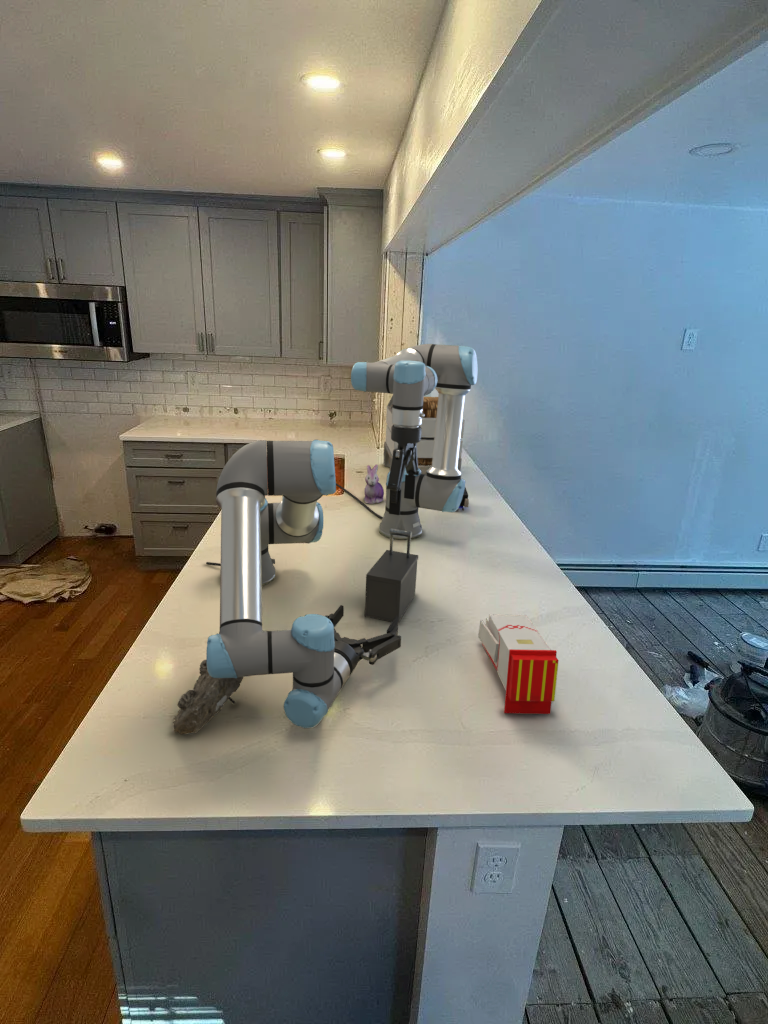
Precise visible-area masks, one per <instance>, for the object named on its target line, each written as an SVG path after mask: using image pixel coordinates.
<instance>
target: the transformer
mask: <svg viewBox="0 0 768 1024" xmlns="http://www.w3.org/2000/svg"><path fill="white" fill-rule="evenodd" d="M437 406H438V396H424V399H423V411H422V413H424V415H425V416H424V417H422V424H421V425H420V427H421V428H422V430H421V441H420V442H418V443H417V458H418V467H431V466H432V458H433V448H434V437H435V427H436V416H437ZM392 407H393V395H391V398H390V400H389V402H388V404H387V405H386V413H385V414H386V415H385V423H386V428H385V438H384V442H383V466H384V467H388V468H389V471H390V470H391V464H392V458H393V450H394V449H396V448H398V443H397V442H394V441H392V439H391V427H392V426H393V425H394V424H392ZM464 429H465V419H464V418H463V420H462V429H461V439H460V448H459V457H458V466H457V467H458V470H459V471H460V472H461V473H462V461H463V460H462V453H463V442H464V441H463V440H462V439H463V438H464V431H465V430H464Z"/></svg>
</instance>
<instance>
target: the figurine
mask: <svg viewBox="0 0 768 1024" xmlns="http://www.w3.org/2000/svg"><path fill="white" fill-rule="evenodd" d="M378 469H379V465H378V464H375V465H374V466H373V468H371V465H369V464H368V465H366V475H365V479H364V480H365V484H366V485H365V487H364V492H363V493H364V497H363V501H364V504H370V505H374V504H379V503H381V502H383V501H384V497H385V496H384V495H385V490H384V487H383V484H381V483H380V482H379V481H380V478H379V475H378V473H377V472H378Z"/></svg>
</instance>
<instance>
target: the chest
mask: <svg viewBox="0 0 768 1024" xmlns="http://www.w3.org/2000/svg"><path fill="white" fill-rule="evenodd" d="M417 572H418V560H417V561H416V563H415V564H414V566H413V567H412V569H411V570H410V572H409V574H408V575H407V577H406V578H405V580H404V581H403V583H402V584H401V585H397V584H392V583H387V582H381V581H376V580H371V579H366V578H365V597H364V598H365V599H364V617H366V618H371V619H376V620H380V621H384V622H385V621H386V622H390V623H392V621H393V620H394V618H395V616H396V617H399V618H398V624H399V623H400V622H401V620H402V618H403V616H404V615H405V613H406V612H407V610H408V608H409V606H410V605H411V603H412V602H413V599H414V598H415V597H416V589H417V588H416V587H417Z"/></svg>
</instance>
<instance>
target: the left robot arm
mask: <svg viewBox="0 0 768 1024" xmlns="http://www.w3.org/2000/svg"><path fill="white" fill-rule="evenodd" d="M332 443H333V442H331V441H329V440H320V439H313V440H266V439H263V440H256V441H255V440H254V441H252V442H250V443H247V444H245V445H243V446H242V447H241V448H239V449H238V450H236V452H234V454H232V456H231V457H230V458H229V459H228V461H227V462H226V463H225V465H224V467H223V468H222V471H221V472H220V474H219V477H218V480H217V484H216V493H215V497H216V498H215V502H216V505H217V506H218V508H220V509H221V511H220V512H221V513H220V514H221V515H220V517H221V519H220V562H219V563H218V562H209V561H206V562H205V564H206V565H207V566H215V567H220V578H219V579H220V584H219V585H220V586H219V631H218V633H216V634H211V635H209V636H208V637H207V640H206V649H205V650H206V653H205V654H206V659H207V670H208V673H209V675H210V676H211V677H213V678H237V677H244V678H245V677H254V676H264V675H265V676H266V675H280V674H281V675H282V674H290V673H291V674H292V689H291V690H290V691H289V692H288V693H287V696H286V697H285V699H284V702H283V711H284V714H285V716H286V718H287V719H288V720H289V721H290V722H291V723H292V724H293V725H295V726H297V727H299V728H303V729H312V728H315V727H317V726H318V725H319V724H320V723H321V722H322V720H323V718H325V716H327V714H328V712H329V710H330V709H331V707H332V705H333V703H334V702H335V700H336V699H337V697H338V695H339V694H340V692H341V690H342V689H343V688H344V686H345V685H346V683H347V681H348V679H349V678H350V677H351V675H352V674H353V672H354V670H355V669H356V667H357V665H358V663H359V662H360V661H362V660H365V661H368V665H370V666H373V665H375V664H376V662H377V661H378V660H380V659H382V658H384V657H385V656H387V655H389V654H391V653H392V652H394V651H396V650H398V649H400V648H401V647H402V636H401V635H399V623H398V618H399V617H396V616H395V618H394V620H393V621H392V622H390V624H389V626H388V628H387V630H386V633H383V634H381V635H377V636H374V637H370V638H365V637H363V638H360V639H355V638H349V637H347V636H343V637H342V636H341V635H340V633H339V632H337V630H336V626H337V625H338V624H339V622H340V621H341V620H342V619H343V618H344V616H345V615H344V613H345V612H344V611H345V606H344V605H342V604H340V605H339V606H338V608H337V609H336V610H335V611H334V613H330V614H329V615H322V614H319V613H318V614H317V613H307V614H305V615H304V616H299V617H297V618H295V619H294V621H293V622H292V625H291V628H290V629H279V630H278V629H277V630H266V631H265V630H263V624H264V623H263V587H265V586H267V585H270V584H271V583H272V582H273V581H274V580H275V579H276V567H275V565H276V559H274V558H272V557H271V553H270V551H269V545H284V544H285V545H287V544H311V543H317V542H319V541H320V540H321V538H322V536H323V530H324V510H323V507H322V505H321V503H320V502H318V501H319V500H320V499H321V498H322V497H323V496H329V495H334V494H335V493H336V491H337V486H336V483H337V481H336V468H335V467H336V466H335V451H334V445H333V444H332ZM266 496H268V497H277V496H279V497H281V496H282V497H281V499H282V500H281V501H279V502H269V501H268V500H267V498H266ZM206 659H205V660H206Z"/></svg>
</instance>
